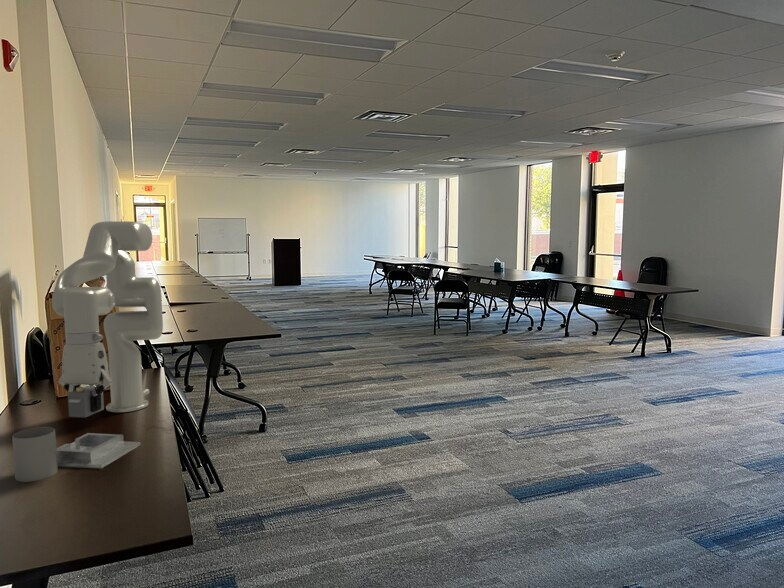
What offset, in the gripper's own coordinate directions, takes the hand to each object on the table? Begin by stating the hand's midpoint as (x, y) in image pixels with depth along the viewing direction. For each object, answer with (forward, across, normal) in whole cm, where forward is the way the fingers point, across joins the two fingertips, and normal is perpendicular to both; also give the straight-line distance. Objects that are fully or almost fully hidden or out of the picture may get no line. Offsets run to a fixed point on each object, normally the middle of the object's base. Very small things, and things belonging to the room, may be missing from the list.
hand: (86, 409), depth 145 cm
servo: (+1, 0, 0) cm, 1 cm away
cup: (+12, +4, +13) cm, 18 cm away
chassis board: (+12, 0, 0) cm, 12 cm away
